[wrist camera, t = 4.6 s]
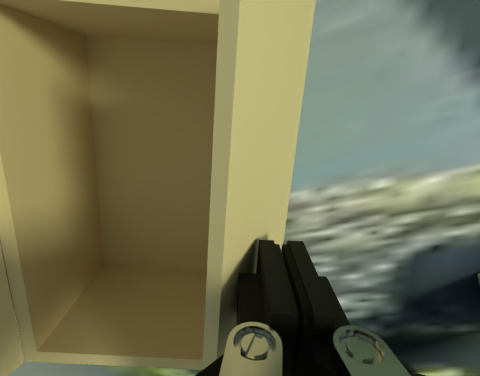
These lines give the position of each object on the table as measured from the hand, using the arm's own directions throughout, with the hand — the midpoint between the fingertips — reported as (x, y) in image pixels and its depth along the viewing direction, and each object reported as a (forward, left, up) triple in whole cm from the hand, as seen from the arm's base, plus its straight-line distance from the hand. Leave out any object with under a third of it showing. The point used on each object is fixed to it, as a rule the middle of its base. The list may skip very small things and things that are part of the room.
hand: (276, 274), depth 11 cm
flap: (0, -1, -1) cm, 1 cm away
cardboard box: (0, -7, -14) cm, 15 cm away
